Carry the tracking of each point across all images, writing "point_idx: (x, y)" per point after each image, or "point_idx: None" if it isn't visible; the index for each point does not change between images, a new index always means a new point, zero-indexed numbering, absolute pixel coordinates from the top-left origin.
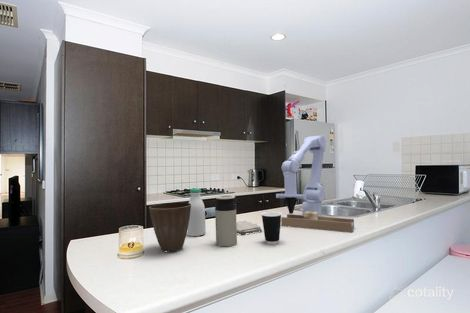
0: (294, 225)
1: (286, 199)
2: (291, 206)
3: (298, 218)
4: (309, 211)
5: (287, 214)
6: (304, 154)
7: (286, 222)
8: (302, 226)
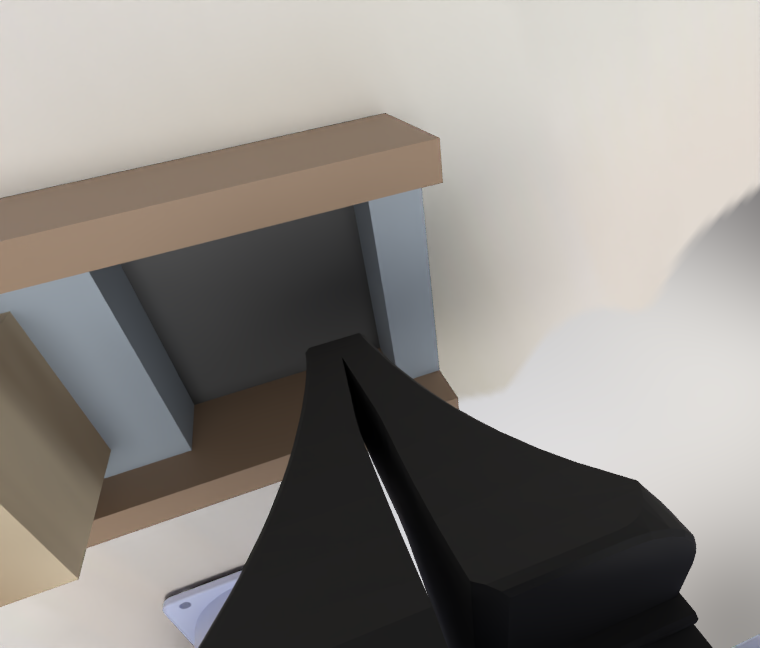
0: (162, 169)
1: (613, 604)
2: (327, 449)
3: (76, 267)
4: (12, 593)
5: (451, 402)
6: None
7: (314, 143)
8: (6, 203)
